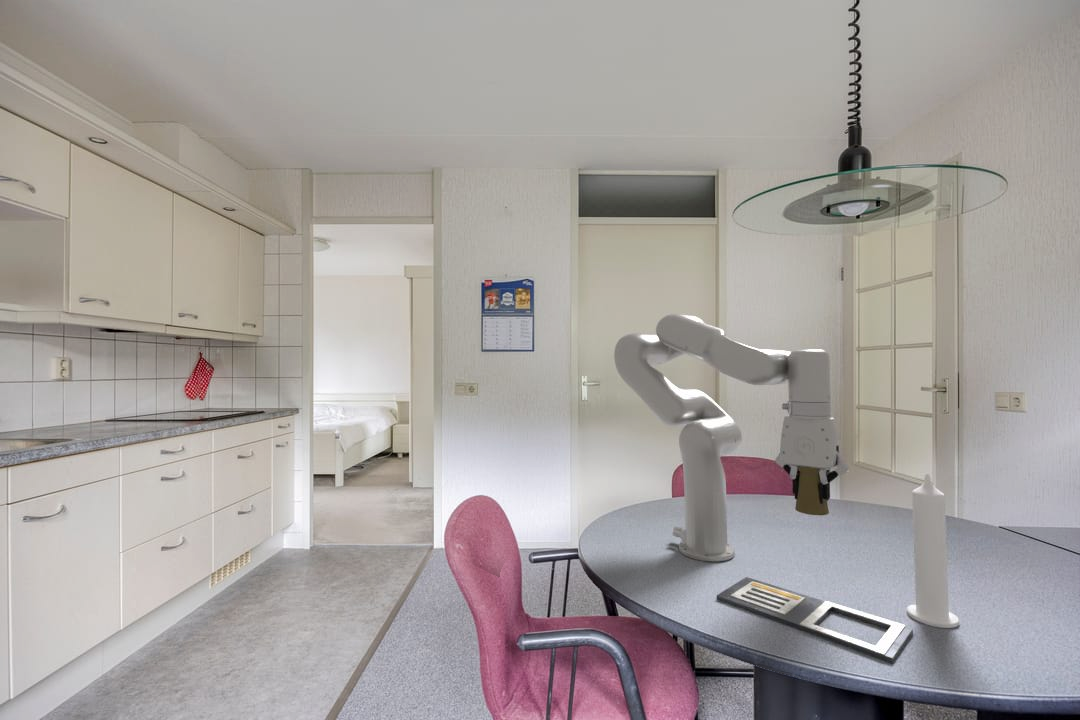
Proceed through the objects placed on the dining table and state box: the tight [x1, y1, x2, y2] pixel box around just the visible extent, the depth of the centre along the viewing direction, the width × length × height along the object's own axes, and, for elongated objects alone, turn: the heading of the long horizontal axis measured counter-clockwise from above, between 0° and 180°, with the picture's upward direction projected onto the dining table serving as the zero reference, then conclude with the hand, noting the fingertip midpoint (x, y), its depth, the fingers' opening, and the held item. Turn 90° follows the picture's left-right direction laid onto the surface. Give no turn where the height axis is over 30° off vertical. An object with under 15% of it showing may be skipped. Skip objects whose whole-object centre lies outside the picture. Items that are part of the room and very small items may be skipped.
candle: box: [906, 473, 960, 629], centre depth 86 cm, size 7×7×25 cm
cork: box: [795, 466, 830, 516], centre depth 100 cm, size 6×6×11 cm
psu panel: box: [716, 576, 914, 664], centre depth 87 cm, size 28×12×1 cm, turn 41°
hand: (811, 499), depth 100 cm, fingers closed on cork, 3 cm apart
